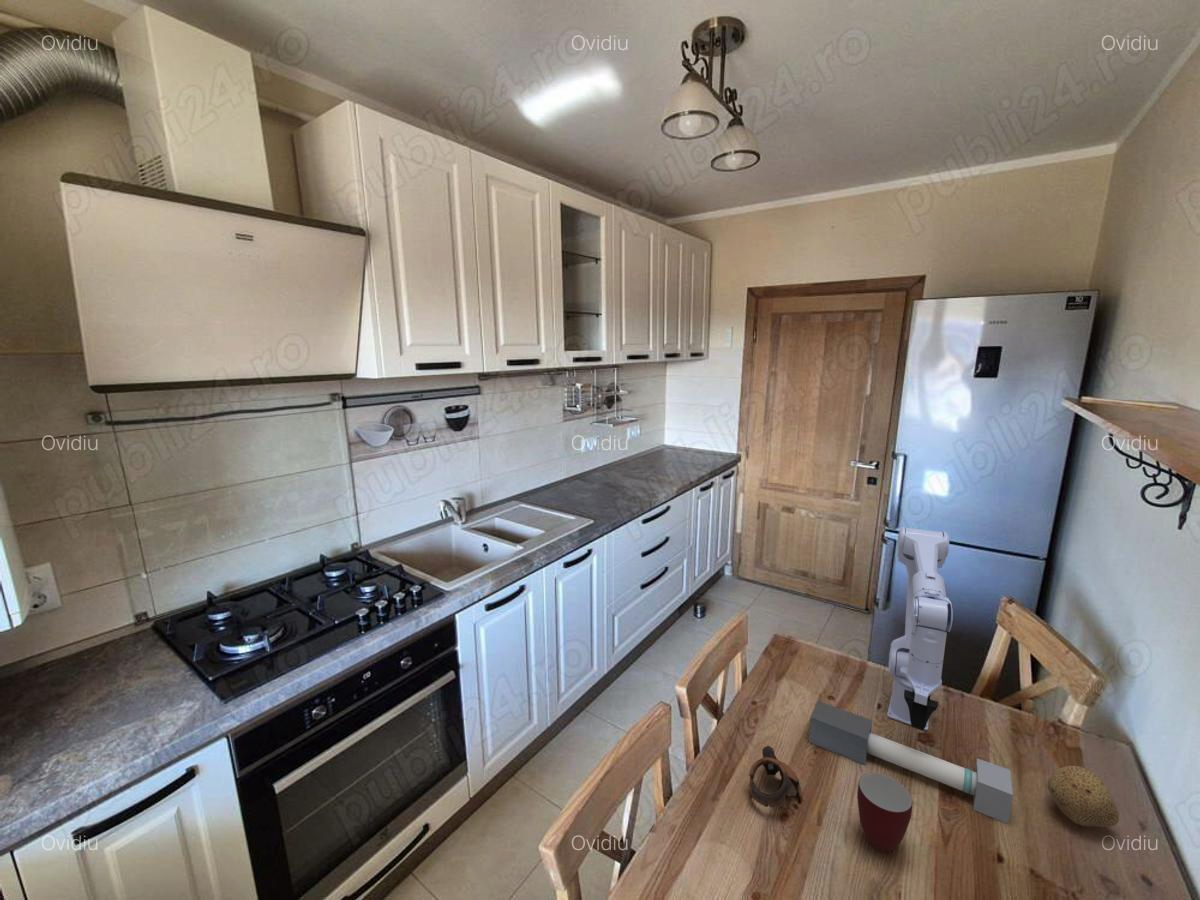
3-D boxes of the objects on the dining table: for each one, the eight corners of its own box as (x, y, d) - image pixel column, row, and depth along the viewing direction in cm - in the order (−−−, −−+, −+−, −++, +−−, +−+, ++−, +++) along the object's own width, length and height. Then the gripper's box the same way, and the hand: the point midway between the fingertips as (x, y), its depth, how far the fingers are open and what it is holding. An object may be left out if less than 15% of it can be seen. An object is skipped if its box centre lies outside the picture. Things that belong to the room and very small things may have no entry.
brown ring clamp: (814, 817, 92) (800, 793, 88) (765, 832, 93) (750, 809, 90) (791, 754, 102) (778, 730, 99) (747, 767, 104) (733, 745, 101)
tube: (851, 751, 105) (853, 734, 104) (855, 739, 108) (856, 723, 108) (989, 807, 92) (992, 787, 91) (988, 791, 95) (991, 772, 94)
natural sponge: (1032, 792, 96) (1039, 747, 94) (1088, 802, 94) (1097, 756, 92) (1061, 835, 87) (1070, 786, 85) (1124, 848, 85) (1135, 798, 83)
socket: (973, 809, 92) (977, 781, 91) (973, 785, 98) (976, 758, 96) (1008, 824, 89) (1013, 795, 88) (1005, 798, 95) (1010, 770, 94)
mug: (842, 805, 93) (846, 759, 92) (888, 810, 92) (893, 763, 91) (863, 860, 83) (869, 809, 81) (915, 867, 82) (922, 815, 80)
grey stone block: (808, 742, 109) (810, 717, 108) (815, 724, 114) (817, 700, 113) (865, 765, 103) (867, 739, 102) (869, 745, 108) (872, 720, 107)
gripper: (905, 633, 108) (899, 690, 110) (899, 666, 96) (892, 728, 98) (945, 643, 104) (938, 702, 106) (943, 679, 92) (935, 744, 94)
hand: (918, 716), depth 102 cm, fingers open, 7 cm apart
